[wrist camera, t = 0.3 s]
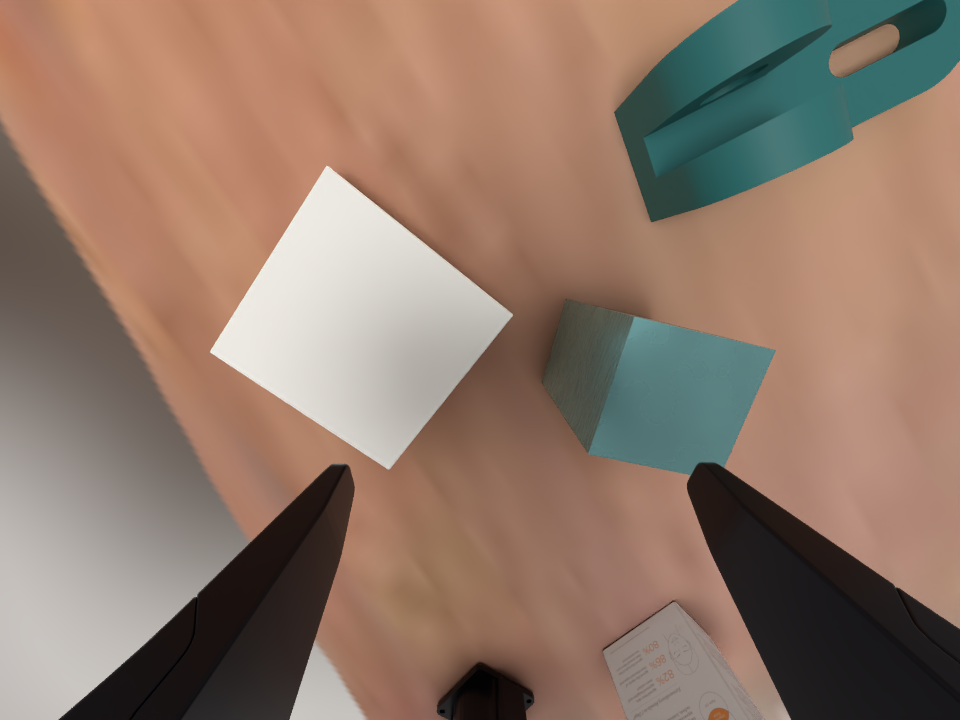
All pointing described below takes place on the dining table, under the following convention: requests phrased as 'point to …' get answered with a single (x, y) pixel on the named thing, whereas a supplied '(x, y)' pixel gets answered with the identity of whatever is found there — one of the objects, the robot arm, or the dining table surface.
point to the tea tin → (651, 387)
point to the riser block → (359, 322)
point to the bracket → (772, 93)
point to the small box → (675, 673)
